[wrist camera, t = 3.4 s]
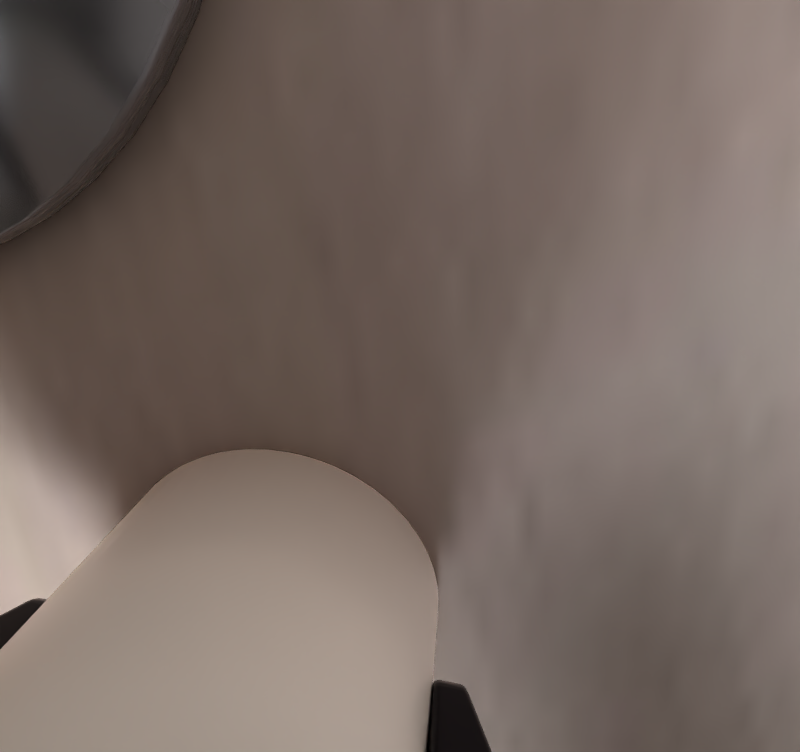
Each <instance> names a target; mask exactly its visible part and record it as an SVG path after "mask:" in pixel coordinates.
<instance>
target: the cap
mask: <svg viewBox="0 0 800 752" xmlns="http://www.w3.org/2000/svg"><path fill="white" fill-rule="evenodd" d="M438 609H439V600H438V586H437V581H436V576H435V571H434V568H433V566H432V563H431V560H430V558H429V555H428V553H427V551H426V549H425V547H424V545H423V543H422V541H421V540H420V538H419V536H418V535H417V533H416V532H415V530H414V529H413V528H412V526H411V525H410V524H409V522H408V521H407V519H406V518H405V517H404V516H403V515H402V514H401V513H400V512H399V511H398V510H397V509H396V508H395V507H394V506H393V505H392V503H390V502H389V501H388V500H387V499H386V498H384V497H383V496H382V495H381V494H380V493H378V492H377V491H376V490H375V489H373V488H372V487H370V486H369V485H367V484H366V483H364V482H363V481H361V480H360V479H358V478H357V477H355V476H353V475H351V474H349V473H347V472H345V471H343V470H341V469H339V468H337V467H335V466H333V465H330V464H327V463H325V462H322V461H319V460H316V459H314V458H311V457H307V456H302V455H298V454H294V453H290V452H283V451H275V450H267V449H242V450H233V451H224V452H219V453H216V454H212V455H208V456H204V457H201V458H198V459H196V460H193V461H191V462H188V463H186V464H184V465H182V466H180V467H179V468H177V469H175V470H174V471H172V472H170V473H169V474H167V475H166V476H165V477H164V478H162V479H161V480H160V481H159V482H158V483H156V484H155V485H154V486H153V487H152V488H151V489H150V490H149V491H148V492H147V494H146V495H145V496H144V497H143V498H142V499H141V500H140V501H139V502H138V503H137V504H136V505H135V506H134V507H133V508H132V510H131V511H130V512H129V513H128V514H127V515H126V516H125V517H124V518H123V519H122V520H121V521H120V522H119V523H118V524H117V526H116V527H115V528H114V529H113V530H112V531H111V532H110V533H109V534H108V535H107V536H106V537H105V538H104V539H103V540H102V542H101V543H100V544H99V545H98V546H97V547H96V548H95V549H94V550H93V551H92V552H91V553H90V554H89V555H88V556H87V558H86V559H85V560H84V561H83V562H82V563H81V564H80V565H79V566H78V567H77V568H76V569H75V570H74V571H73V572H72V574H71V575H70V576H69V577H68V578H67V579H66V580H65V581H64V582H63V583H62V584H61V585H60V586H59V587H58V588H57V590H56V591H55V592H54V593H53V594H52V595H51V596H50V597H49V598H48V599H47V600H46V601H45V602H44V603H43V604H42V606H41V607H40V608H39V609H38V610H37V611H36V612H35V613H34V614H33V615H32V616H31V617H30V618H29V619H28V620H27V622H26V623H25V624H24V625H23V626H22V627H21V628H20V629H19V630H18V631H17V632H16V633H15V634H14V635H13V636H12V638H11V639H10V640H9V641H8V642H7V643H6V644H5V645H4V646H3V647H2V648H1V649H0V752H427V750H428V737H429V724H430V711H431V698H432V686H433V674H434V661H435V648H436V635H437V622H438Z"/></svg>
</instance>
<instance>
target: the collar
mask: <svg viewBox="0 0 800 752" xmlns="http://www.w3.org/2000/svg"><path fill="white" fill-rule="evenodd" d="M201 2H202V0H0V244H2V243H5V242H7V241H10V240H11V239H13V238H15V237H17V236H18V235H20V234H22V233H23V232H25V231H27V230H28V229H30V228H32V227H34V226H35V225H37V224H39V223H40V222H42V221H44V220H46V219H47V218H49V217H51V216H52V215H54V214H55V213H56V212H58V211H59V210H60V209H61V208H62V207H63V206H65V205H66V204H67V203H68V202H69V201H71V200H72V199H73V198H74V197H75V196H77V195H78V194H79V193H80V192H81V191H83V190H84V189H85V188H86V187H87V186H88V185H90V184H91V183H92V182H93V181H94V180H96V178H97V177H98V176H99V175H100V174H101V173H102V171H103V170H104V169H105V168H106V167H107V166H108V164H109V163H110V162H111V161H112V160H113V159H114V157H115V156H116V155H117V154H118V153H119V152H120V150H121V149H122V148H123V147H124V146H125V145H126V144H127V142H128V141H129V140H130V139H131V138H132V137H133V135H134V134H135V132H136V131H137V129H138V128H139V126H140V124H141V123H142V121H143V120H144V118H145V116H146V115H147V113H148V112H149V110H150V108H151V107H152V105H153V104H154V102H155V100H156V99H157V97H158V96H159V94H160V92H161V91H162V89H163V88H164V86H165V84H166V83H167V81H168V79H169V77H170V75H171V73H172V71H173V68H174V66H175V64H176V62H177V59H178V57H179V55H180V53H181V50H182V48H183V46H184V44H185V41H186V39H187V37H188V35H189V33H190V30H191V28H192V26H193V24H194V21H195V19H196V17H197V15H198V12H199V9H200V5H201Z"/></svg>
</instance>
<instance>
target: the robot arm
mask: <svg viewBox="0 0 800 752" xmlns="http://www.w3.org/2000/svg"><path fill="white" fill-rule="evenodd" d="M45 601H46V599H41V598H37V599H32V600H30V601H27V602H25V603H23V604H21V605H20V606H18V607H16V608H14V609H12V610H10V611H8V612H6V613H4V614H2V615H0V649H1V648H2V647H3V646H4V645H5V644H6V643H7V642H8V641H9V640H10V639H11V638H12V636H13V635H14V634H15V633H16V632H17V631H18V630H19V629H20V628H21V627H22V626H23V625H24V624H25V623H26V622H27V620H28V619H29V618H30V617H31V616H32V615H33V614H34V613H35V612H36V611H37V610H38V609H39V608H40V607H41V606H42V604H43V603H44V602H45ZM427 752H492V751H491V749H490V746H489V744H488V741H487V739H486V736H485V734H484V731H483V729H482V726H481V724H480V721H479V719H478V716H477V714H476V711H475V709H474V706H473V704H472V701H471V699H470V696H469V694H468V692H467V690H466V688H465V687H464V686H463V685H461V684H457V683H452V682H447V681H442V680H437V681H435V682H434V683H433V686H432V698H431V711H430V724H429V737H428V750H427Z"/></svg>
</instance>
